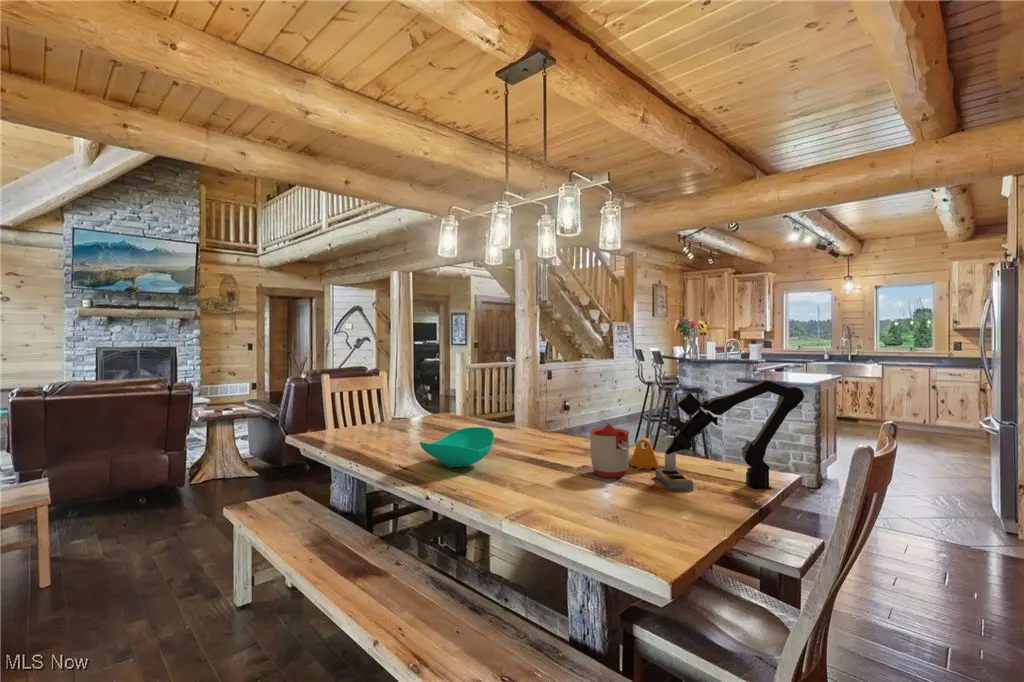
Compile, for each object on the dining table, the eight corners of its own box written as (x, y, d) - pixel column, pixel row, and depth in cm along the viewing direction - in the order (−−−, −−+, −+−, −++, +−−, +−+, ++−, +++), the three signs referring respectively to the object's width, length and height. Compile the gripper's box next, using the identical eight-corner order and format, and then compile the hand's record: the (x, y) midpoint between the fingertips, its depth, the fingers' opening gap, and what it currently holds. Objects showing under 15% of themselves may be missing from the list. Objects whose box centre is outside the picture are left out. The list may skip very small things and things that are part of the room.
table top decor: (460, 482, 179) (460, 447, 179) (402, 474, 191) (402, 441, 191) (508, 458, 214) (508, 429, 214) (457, 452, 227) (456, 425, 227)
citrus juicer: (611, 483, 175) (610, 429, 175) (581, 472, 190) (581, 423, 190) (641, 476, 183) (641, 425, 183) (611, 466, 198) (610, 419, 198)
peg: (674, 468, 180) (673, 435, 180) (677, 471, 176) (676, 437, 176) (663, 468, 180) (663, 435, 180) (666, 471, 176) (666, 437, 176)
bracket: (659, 465, 199) (658, 437, 199) (657, 470, 193) (657, 440, 193) (633, 463, 203) (632, 435, 203) (630, 467, 197) (630, 439, 197)
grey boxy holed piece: (678, 476, 183) (678, 468, 183) (693, 490, 166) (693, 481, 166) (655, 476, 183) (655, 468, 183) (667, 490, 166) (667, 481, 166)
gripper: (679, 405, 186) (650, 431, 189) (681, 412, 168) (649, 441, 172) (701, 425, 184) (671, 452, 187) (705, 435, 166) (672, 464, 169)
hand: (666, 452), depth 179 cm, fingers closed on peg, 4 cm apart
